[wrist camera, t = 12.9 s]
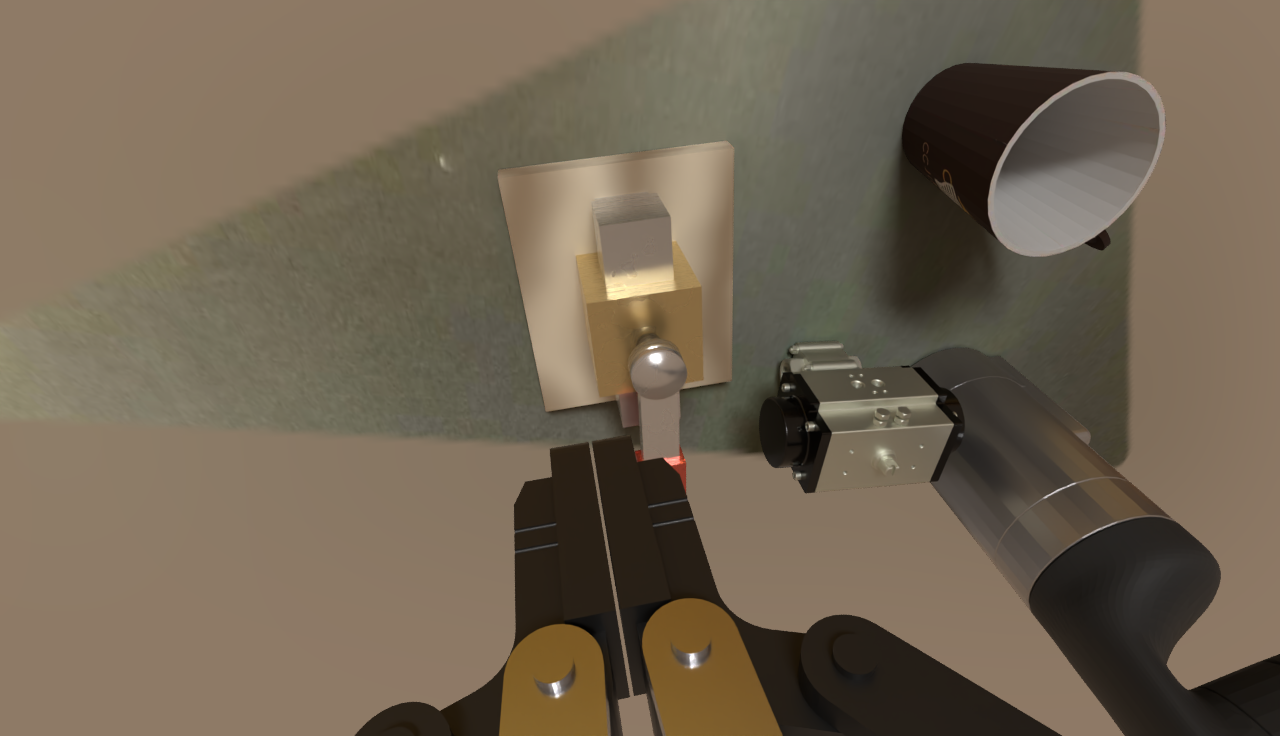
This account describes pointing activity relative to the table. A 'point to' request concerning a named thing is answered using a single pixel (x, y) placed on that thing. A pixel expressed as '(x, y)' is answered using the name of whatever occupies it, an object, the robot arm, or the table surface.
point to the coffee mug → (1037, 149)
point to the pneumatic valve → (857, 422)
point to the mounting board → (563, 227)
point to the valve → (637, 294)
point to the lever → (659, 400)
